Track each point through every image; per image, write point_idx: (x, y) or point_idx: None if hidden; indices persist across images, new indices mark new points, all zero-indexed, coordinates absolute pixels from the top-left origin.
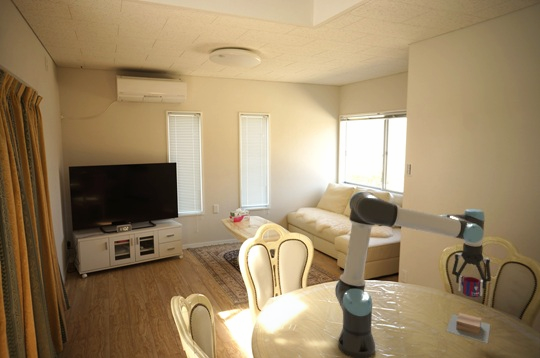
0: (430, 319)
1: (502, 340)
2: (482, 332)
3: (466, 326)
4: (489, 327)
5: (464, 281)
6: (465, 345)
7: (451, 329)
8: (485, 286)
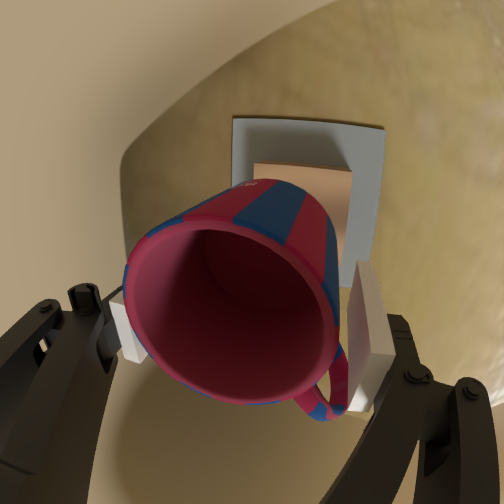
0: (442, 212)
1: (192, 177)
2: None
3: (309, 166)
4: None
5: (324, 267)
6: (306, 65)
7: (366, 154)
8: (122, 286)
